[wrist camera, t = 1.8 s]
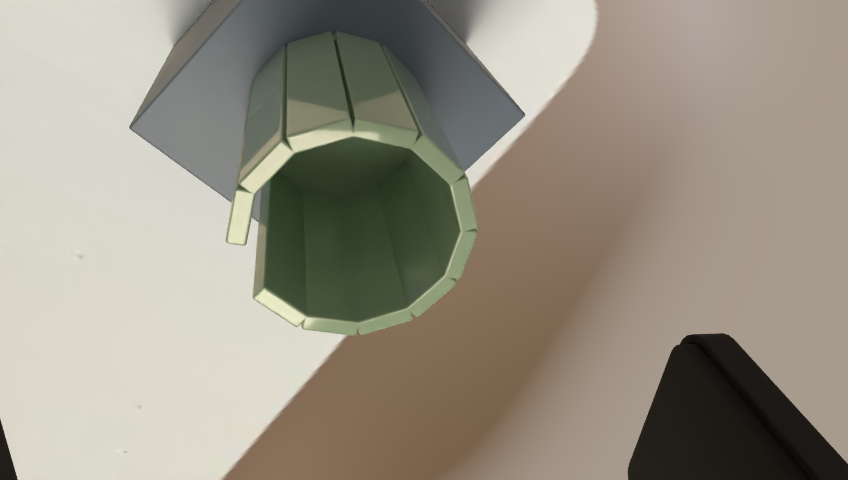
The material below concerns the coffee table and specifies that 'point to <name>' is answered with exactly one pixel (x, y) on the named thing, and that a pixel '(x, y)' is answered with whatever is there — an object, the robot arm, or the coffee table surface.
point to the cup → (348, 189)
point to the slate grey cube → (276, 27)
